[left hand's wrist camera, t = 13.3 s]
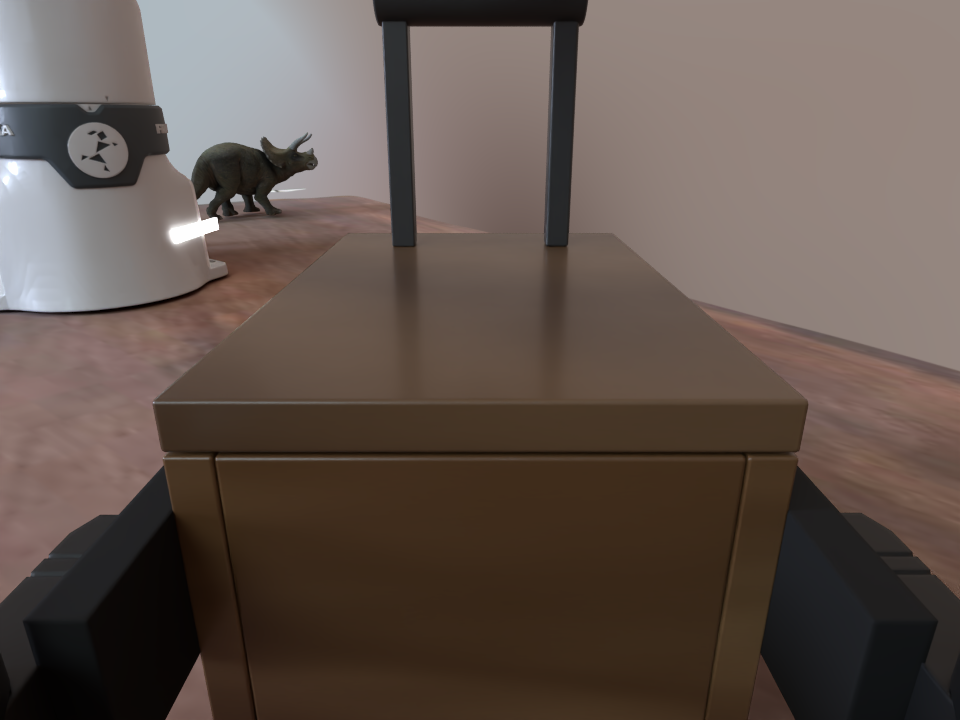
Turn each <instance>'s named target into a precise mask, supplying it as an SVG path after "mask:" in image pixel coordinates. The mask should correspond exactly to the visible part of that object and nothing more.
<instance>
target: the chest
mask: <svg viewBox="0 0 960 720" xmlns="http://www.w3.org/2000/svg"><path fill="white" fill-rule="evenodd" d="M163 463H164V469H165V474H166V479H167V484H168V489H169V494H170V499H171V505H172V510H173V513H174V518H175V523H176V529H177V534H178V539H179V544H180V549H181V554H182V559H183V565H184V570H185V575H186V580H187V585H188V590H189V596H190V601H191V606H192V611H193V616H194V621H195V626H196V632H197V637H198V642H199V647H200V654H201V659H202V664H203V669H204V675H205V680H206V685H207V690H208V695H209V700H210V706H211V711H212V716H213V720H747V719H748V714H749V709H750V704H751V699H752V694H753V689H754V683H755V678H756V673H757V668H758V663H759V658H760V651H761V646H762V641H763V636H764V631H765V625H766V620H767V615H768V610H769V605H770V600H771V595H772V590H773V584H774V579H775V574H776V569H777V564H778V559H779V554H780V548H781V543H782V538H783V533H784V528H785V523H786V518H787V513H788V510H789V504H790V499H791V494H792V489H793V484H794V479H795V474H796V469H797V463H798V458H797V456H796V455H795V454H794V453H793V452H167V453H166V454H165V455H164V457H163Z"/></svg>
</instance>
